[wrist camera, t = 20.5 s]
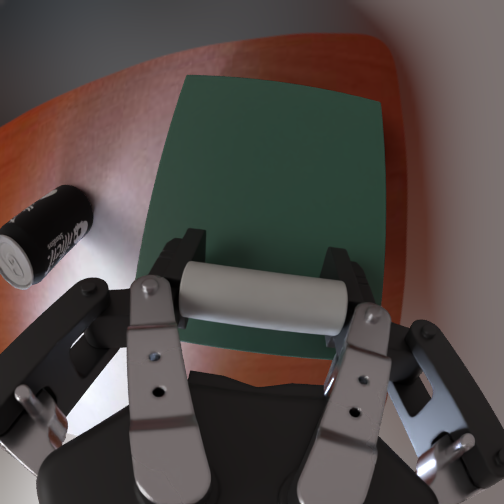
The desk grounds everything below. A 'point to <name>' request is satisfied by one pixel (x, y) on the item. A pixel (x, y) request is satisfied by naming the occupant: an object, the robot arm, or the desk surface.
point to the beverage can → (43, 235)
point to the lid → (269, 210)
